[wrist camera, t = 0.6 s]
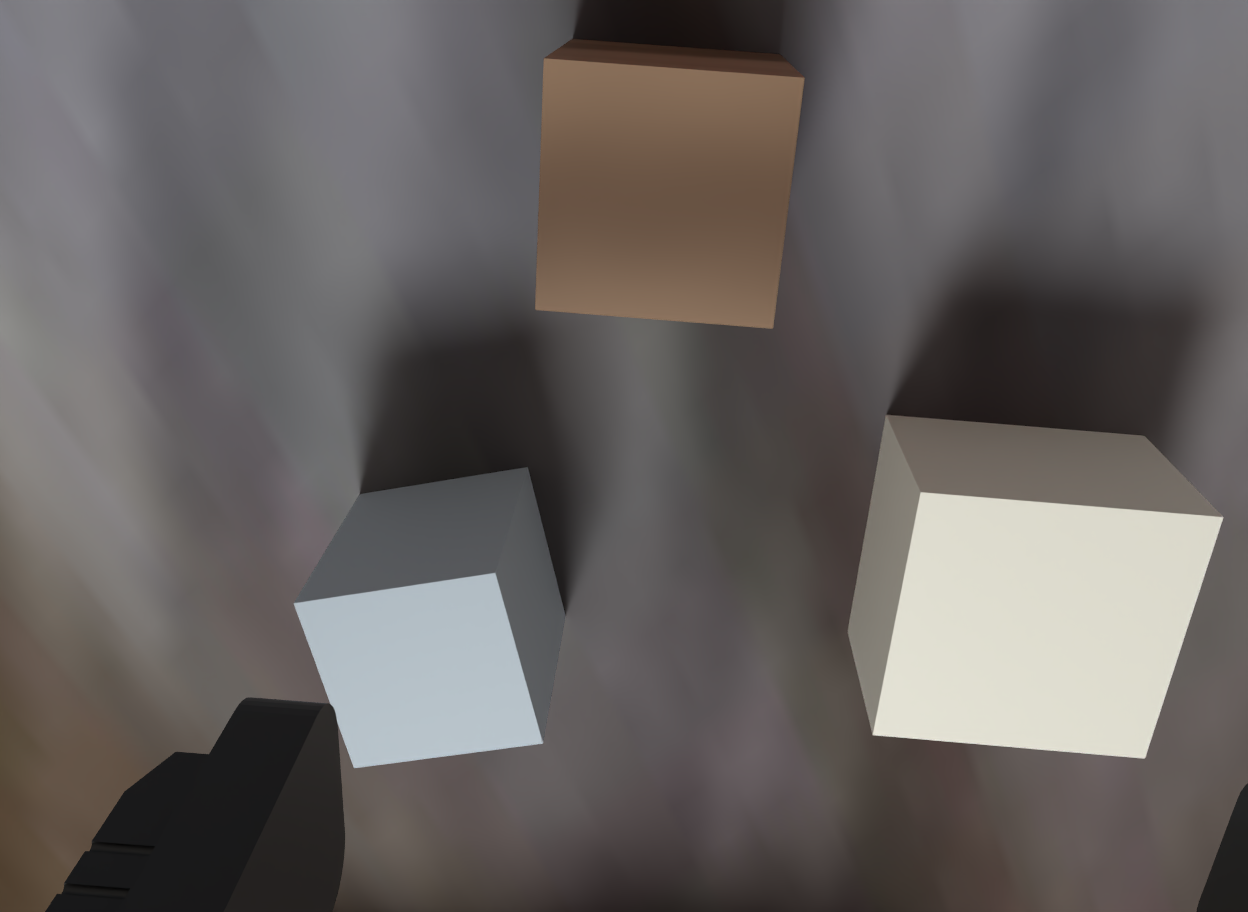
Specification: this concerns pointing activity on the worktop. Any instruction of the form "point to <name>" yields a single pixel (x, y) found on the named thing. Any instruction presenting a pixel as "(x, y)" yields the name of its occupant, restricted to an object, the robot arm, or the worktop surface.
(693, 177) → the walnut block
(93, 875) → the robot arm
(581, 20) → the worktop surface
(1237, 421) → the worktop surface
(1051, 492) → the base block
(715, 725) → the worktop surface
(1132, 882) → the worktop surface
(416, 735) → the slate-grey block
